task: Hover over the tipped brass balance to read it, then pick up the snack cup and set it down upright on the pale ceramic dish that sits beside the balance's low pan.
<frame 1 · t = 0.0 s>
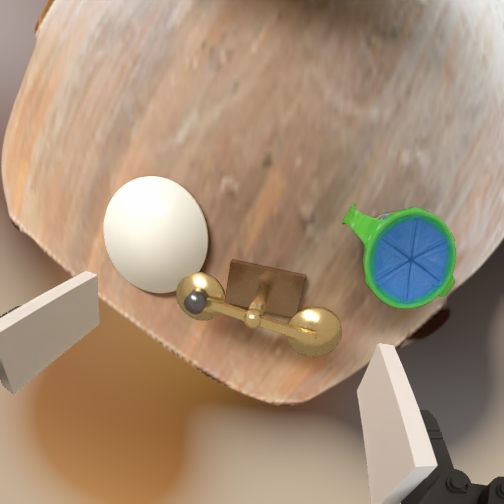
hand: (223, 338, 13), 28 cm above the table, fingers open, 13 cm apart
balance: (264, 287, 42), on the table
dish: (154, 235, 43), on the table
snack cup: (389, 239, 37), on the table
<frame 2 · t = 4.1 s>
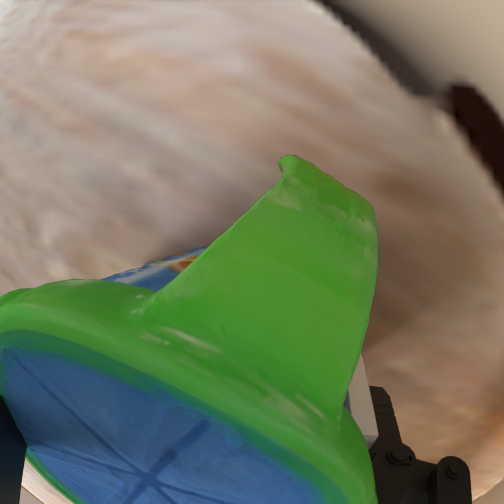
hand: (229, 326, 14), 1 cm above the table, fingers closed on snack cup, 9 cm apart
snack cup: (232, 317, 15), on the table, touching gripper
when the fingers open (3 cm above the table, at t = 11.7 s): snack cup moves 2 cm, resting on dish.
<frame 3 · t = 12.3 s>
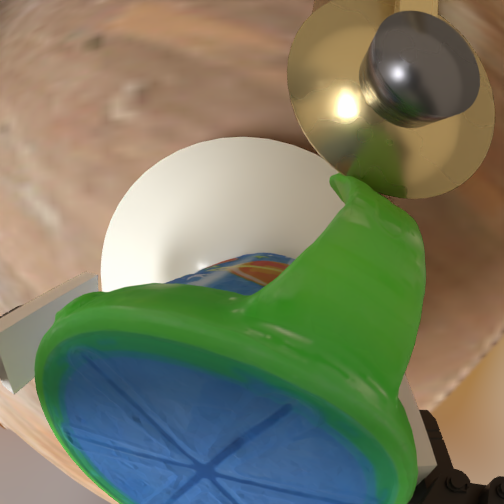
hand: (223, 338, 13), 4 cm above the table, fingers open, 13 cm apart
balance: (370, 14, 11), on the table
dish: (242, 300, 17), on the table
snack cup: (271, 321, 15), point 1 cm above the table, touching dish, gripper
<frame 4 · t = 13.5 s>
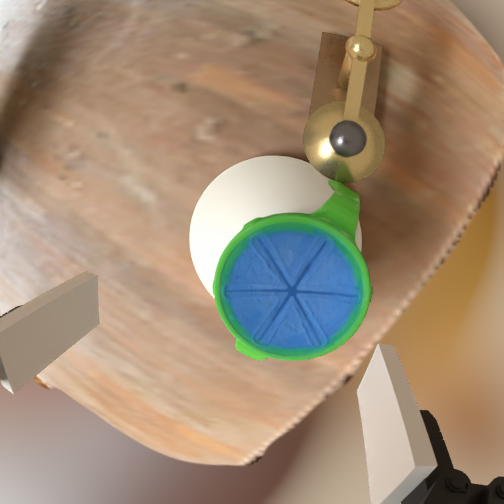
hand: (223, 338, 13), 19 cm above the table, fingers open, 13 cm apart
balance: (345, 84, 25), on the table
dish: (274, 242, 30), on the table
snack cup: (296, 253, 29), point 1 cm above the table, touching dish
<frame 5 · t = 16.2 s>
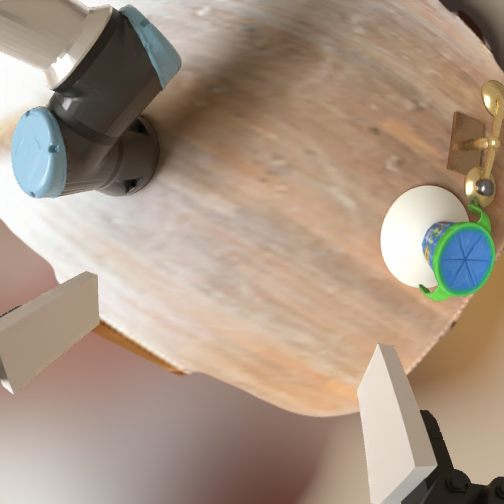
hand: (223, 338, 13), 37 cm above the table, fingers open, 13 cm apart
balance: (465, 145, 39), on the table
dish: (426, 236, 44), on the table
snack cup: (439, 243, 43), point 1 cm above the table, touching dish
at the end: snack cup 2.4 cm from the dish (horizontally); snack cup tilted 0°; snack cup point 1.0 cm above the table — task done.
